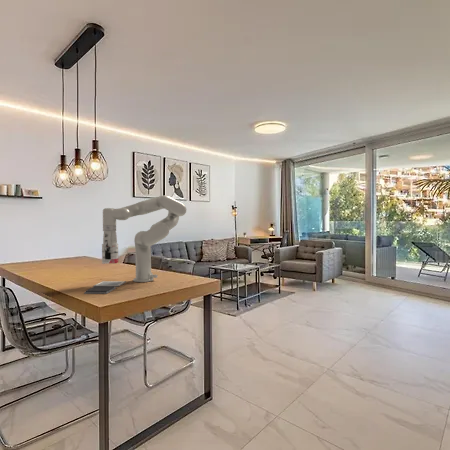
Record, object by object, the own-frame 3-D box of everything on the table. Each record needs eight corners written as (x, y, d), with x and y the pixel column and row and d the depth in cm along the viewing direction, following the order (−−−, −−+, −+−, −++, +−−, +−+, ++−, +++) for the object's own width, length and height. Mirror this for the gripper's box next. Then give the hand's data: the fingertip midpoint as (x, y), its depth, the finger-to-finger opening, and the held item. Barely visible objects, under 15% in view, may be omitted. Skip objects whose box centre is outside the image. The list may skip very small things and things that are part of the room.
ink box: (118, 262, 185) (118, 243, 185) (116, 263, 180) (116, 243, 180) (104, 262, 184) (104, 243, 184) (101, 263, 179) (101, 244, 179)
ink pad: (115, 288, 170) (115, 285, 170) (106, 293, 158) (106, 290, 158) (94, 288, 170) (94, 285, 170) (84, 293, 158) (84, 290, 158)
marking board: (126, 281, 188) (126, 281, 188) (118, 286, 175) (118, 285, 175) (102, 281, 189) (102, 281, 189) (93, 286, 176) (93, 285, 176)
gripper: (110, 229, 173) (110, 260, 173) (121, 228, 190) (121, 256, 190) (97, 229, 173) (97, 260, 173) (109, 228, 190) (109, 256, 190)
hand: (109, 258), depth 182 cm, fingers closed on ink box, 5 cm apart
